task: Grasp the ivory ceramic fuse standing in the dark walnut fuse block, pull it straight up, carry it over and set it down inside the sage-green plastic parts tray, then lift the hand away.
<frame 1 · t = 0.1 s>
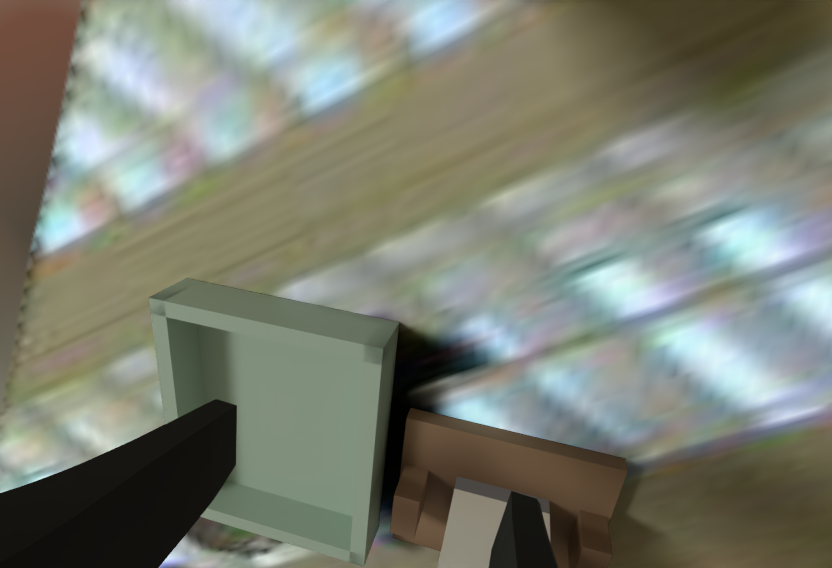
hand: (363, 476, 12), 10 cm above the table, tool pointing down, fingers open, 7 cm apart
parts tray: (288, 410, 25), on the table
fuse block: (498, 495, 24), on the table
fuse: (497, 507, 23), point 1 cm above the table, touching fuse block
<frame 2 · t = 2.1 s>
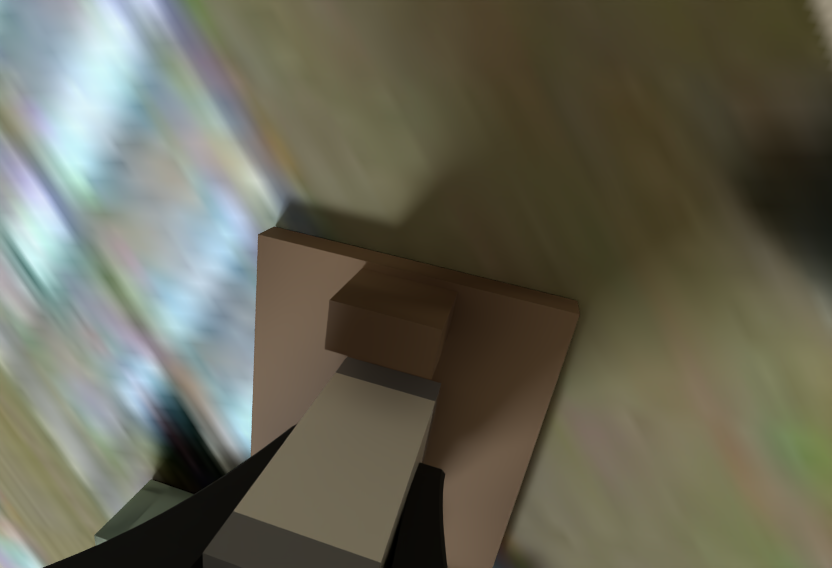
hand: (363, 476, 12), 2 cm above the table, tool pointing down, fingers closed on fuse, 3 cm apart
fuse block: (390, 417, 14), on the table
fuse: (382, 434, 13), point 1 cm above the table, touching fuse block, gripper
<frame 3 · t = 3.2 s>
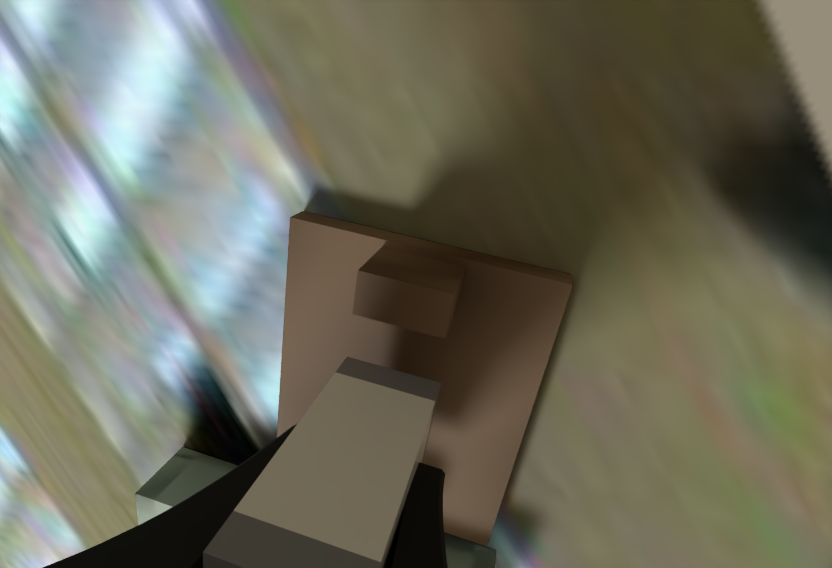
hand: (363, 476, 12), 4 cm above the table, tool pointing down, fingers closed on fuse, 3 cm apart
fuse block: (404, 383, 16), on the table
fuse: (382, 434, 13), point 3 cm above the table, touching gripper
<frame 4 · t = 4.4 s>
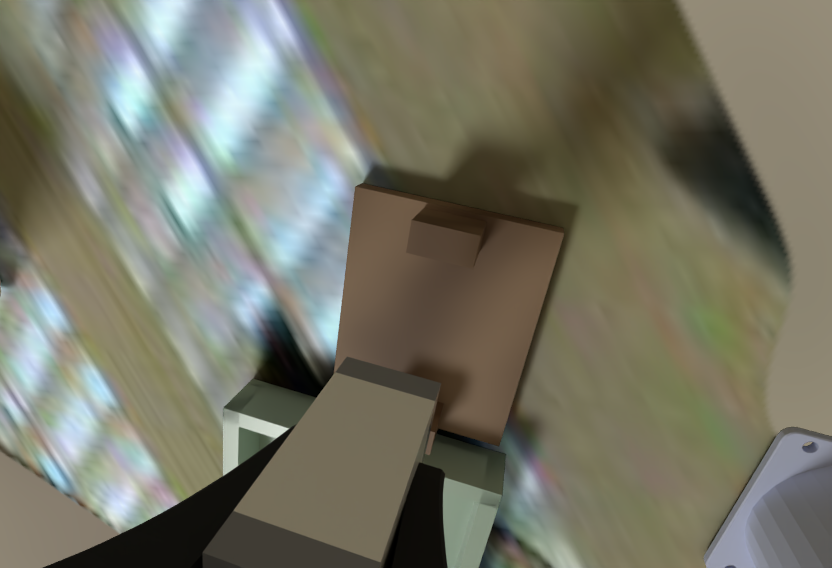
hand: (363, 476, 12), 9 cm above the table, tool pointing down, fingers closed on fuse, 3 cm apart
parts tray: (360, 496, 25), on the table
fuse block: (436, 317, 20), on the table
fuse: (381, 434, 13), point 8 cm above the table, touching gripper
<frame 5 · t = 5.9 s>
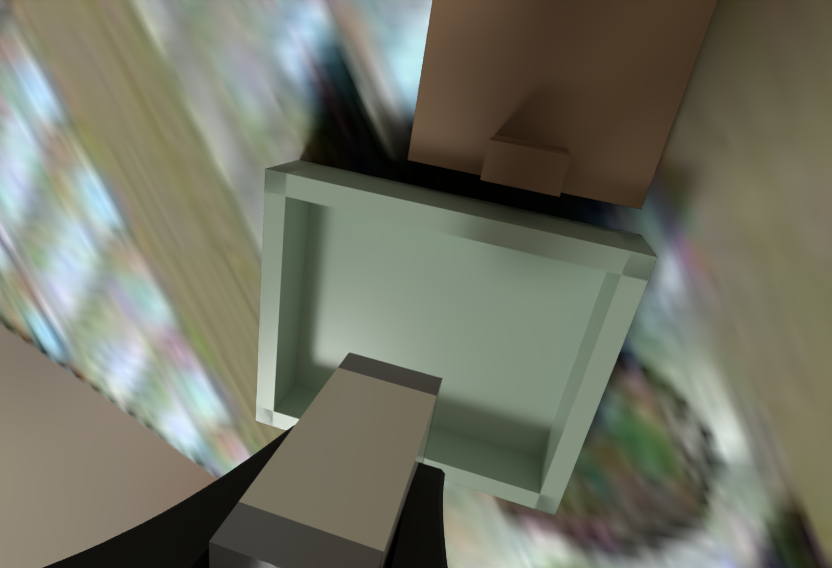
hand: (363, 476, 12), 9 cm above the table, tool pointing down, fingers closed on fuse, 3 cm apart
parts tray: (433, 324, 20), on the table
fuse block: (561, 21, 15), on the table
fuse: (383, 429, 13), point 7 cm above the table, touching gripper
when the fingers open (4 cm above the table, at t = 7.0 s): fuse drops 1 cm, resting on parts tray.
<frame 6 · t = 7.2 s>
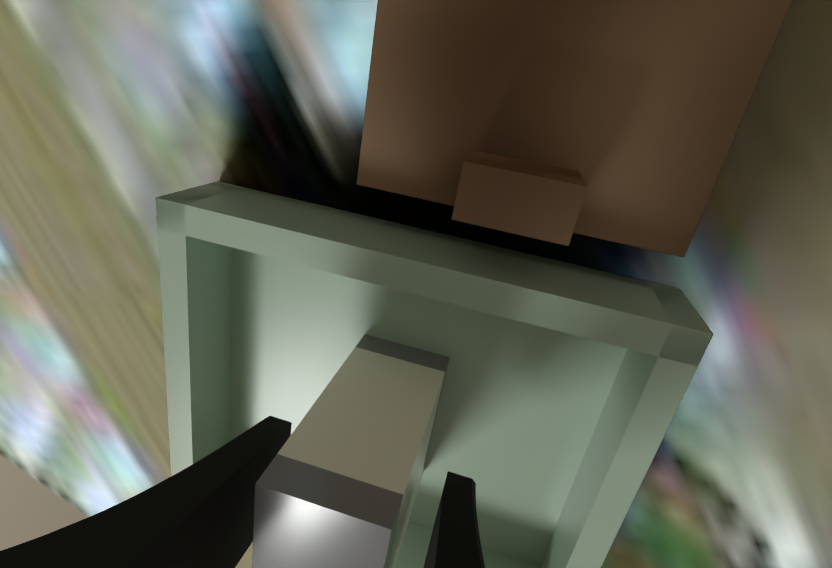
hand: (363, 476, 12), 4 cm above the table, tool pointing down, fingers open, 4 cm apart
parts tray: (400, 394, 15), on the table
fuse: (395, 405, 15), resting on parts tray
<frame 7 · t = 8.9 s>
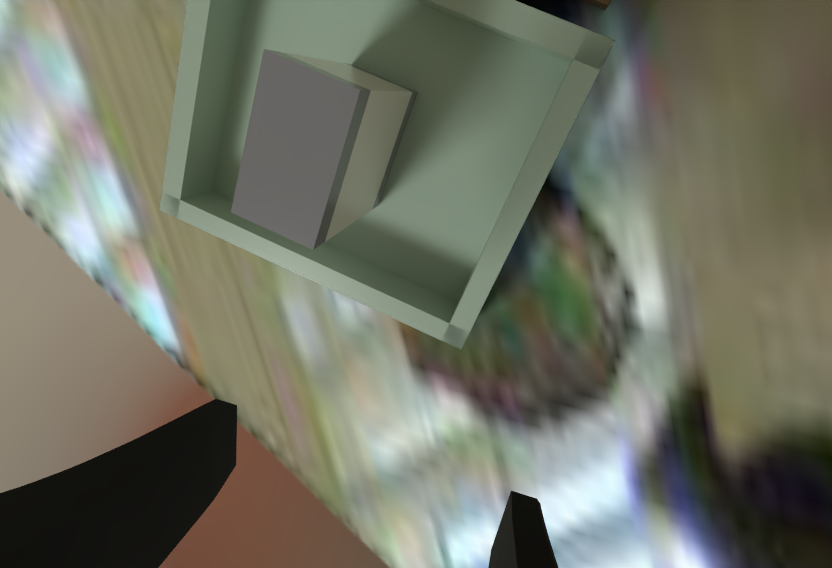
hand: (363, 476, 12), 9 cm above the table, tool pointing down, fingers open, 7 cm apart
parts tray: (371, 134, 18), on the table
fuse: (365, 138, 18), resting on parts tray
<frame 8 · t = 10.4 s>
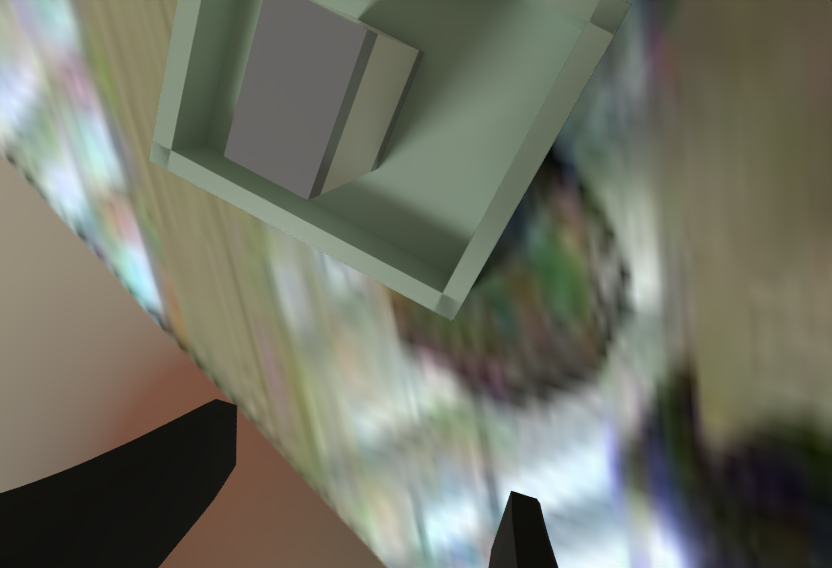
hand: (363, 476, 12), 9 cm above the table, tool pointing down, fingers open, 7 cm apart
parts tray: (373, 95, 18), on the table
fuse: (367, 97, 17), resting on parts tray
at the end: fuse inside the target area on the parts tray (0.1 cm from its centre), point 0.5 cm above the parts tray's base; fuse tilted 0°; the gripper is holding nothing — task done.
